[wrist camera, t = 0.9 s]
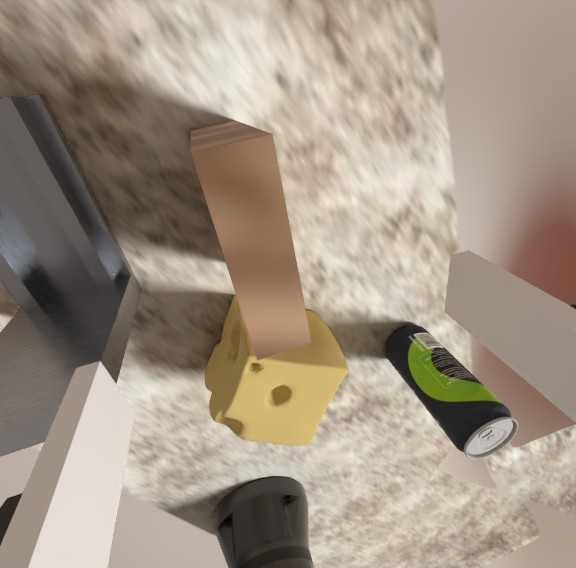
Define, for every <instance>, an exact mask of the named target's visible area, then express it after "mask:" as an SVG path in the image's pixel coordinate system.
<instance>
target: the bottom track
mask: <svg viewBox="0 0 576 568" xmlns="http://www.w3.org/2000/svg"><path fill="white" fill-rule="evenodd" d="M0 280H1V282H2V283H3V284H4V286H5V287H6V288H7V289H8V291H9V292H10V293H11V295H12V296H13V297H14V299H15V300H16V301H17V302H18V304H19V305H20V306H21V308H20V310H19V311H18V312H17V313H16V314H15V316H14V317H13V318H12V319H11V320H10V322H9V323H8V324H7V325H6V326H5V328H4V329H3V330H2V331H1V332H0V456H4V455H7V454H9V453H13V452H16V451H19V450H22V449H24V448H28V447H31V446H34V445H37V444H40V443H43V442H45V440H46V438H47V435H48V433H49V431H50V428H51V426H52V424H53V421H54V419H55V417H56V414H57V412H58V410H59V407H60V405H61V403H62V400H63V398H64V396H65V393H66V391H67V388H68V386H69V384H70V381H71V379H72V377H73V374H74V372H75V370H76V368H78V367H81V366H85V365H88V364H91V363H95V362H98V361H101V363H102V364H103V366H104V367H105V369H106V370H107V372H108V373H109V374H110V376H111V377H112V379H113V380H114V382H115V383H116V384H117V380H118V376H119V372H120V369H121V365H122V361H123V357H124V354H125V350H126V346H127V342H128V339H129V335H130V331H131V327H132V324H133V320H134V316H135V312H136V309H137V305H138V301H139V297H140V293H141V290H142V289H141V287H140V285H139V283H138V281H137V279H136V278H135V276H134V274H133V272H132V270H131V268H130V266H129V264H128V262H127V260H126V258H125V256H124V254H123V252H122V250H121V248H120V246H119V244H118V242H117V240H116V238H115V236H114V234H113V232H112V230H111V228H110V226H109V224H108V222H107V220H106V218H105V216H104V214H103V212H102V210H101V208H100V206H99V204H98V202H97V201H96V199H95V197H94V195H93V193H92V191H91V189H90V187H89V185H88V183H87V181H86V179H85V177H84V175H83V173H82V171H81V169H80V167H79V165H78V163H77V161H76V159H75V157H74V155H73V153H72V151H71V149H70V147H69V145H68V143H67V141H66V139H65V137H64V135H63V133H62V131H61V129H60V127H59V125H58V123H57V122H56V120H55V118H54V116H53V114H52V112H51V110H50V108H49V106H48V104H47V102H46V100H45V98H44V96H43V94H36V95H31V96H26V97H5V98H0Z"/></svg>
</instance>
